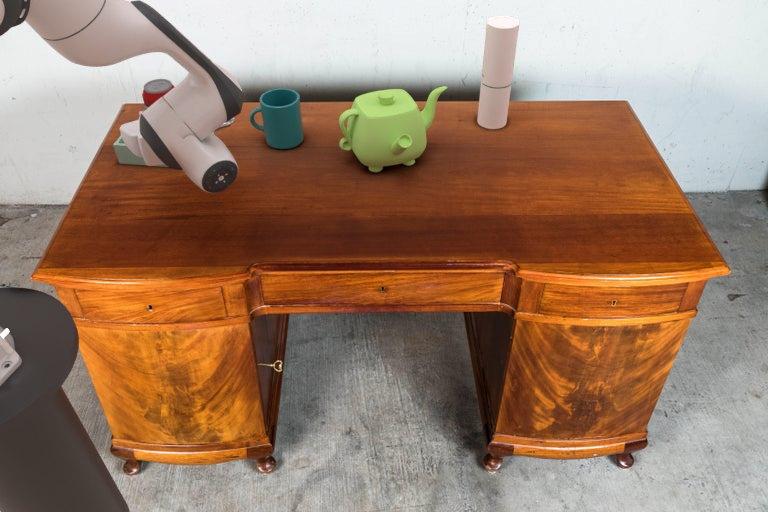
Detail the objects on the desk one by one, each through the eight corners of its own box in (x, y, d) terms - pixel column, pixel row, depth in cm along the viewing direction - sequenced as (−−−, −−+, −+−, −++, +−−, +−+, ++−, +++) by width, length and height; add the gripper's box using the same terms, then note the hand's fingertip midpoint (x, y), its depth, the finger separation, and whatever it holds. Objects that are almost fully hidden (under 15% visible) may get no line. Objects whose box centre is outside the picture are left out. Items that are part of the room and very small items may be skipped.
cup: (255, 131, 159) (248, 88, 152) (305, 129, 159) (300, 87, 152) (251, 151, 152) (243, 108, 145) (303, 150, 153) (298, 106, 145)
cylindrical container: (501, 112, 164) (513, 14, 148) (510, 127, 159) (523, 27, 143) (473, 115, 164) (482, 16, 147) (481, 130, 158) (492, 29, 142)
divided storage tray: (200, 169, 147) (196, 150, 144) (119, 163, 149) (112, 144, 146) (215, 145, 155) (211, 126, 151) (137, 139, 157) (132, 121, 153)
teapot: (358, 198, 139) (355, 133, 128) (331, 146, 154) (327, 84, 143) (467, 175, 144) (473, 112, 134) (430, 127, 160) (433, 66, 149)
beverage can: (149, 138, 136) (133, 84, 128) (178, 126, 140) (164, 73, 132) (164, 150, 132) (150, 97, 124) (194, 138, 136) (181, 85, 128)
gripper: (235, 107, 126) (207, 80, 134) (130, 140, 117) (107, 108, 126) (241, 136, 130) (213, 107, 138) (139, 169, 122) (117, 136, 130)
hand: (162, 108), depth 132 cm, fingers closed on beverage can, 7 cm apart
